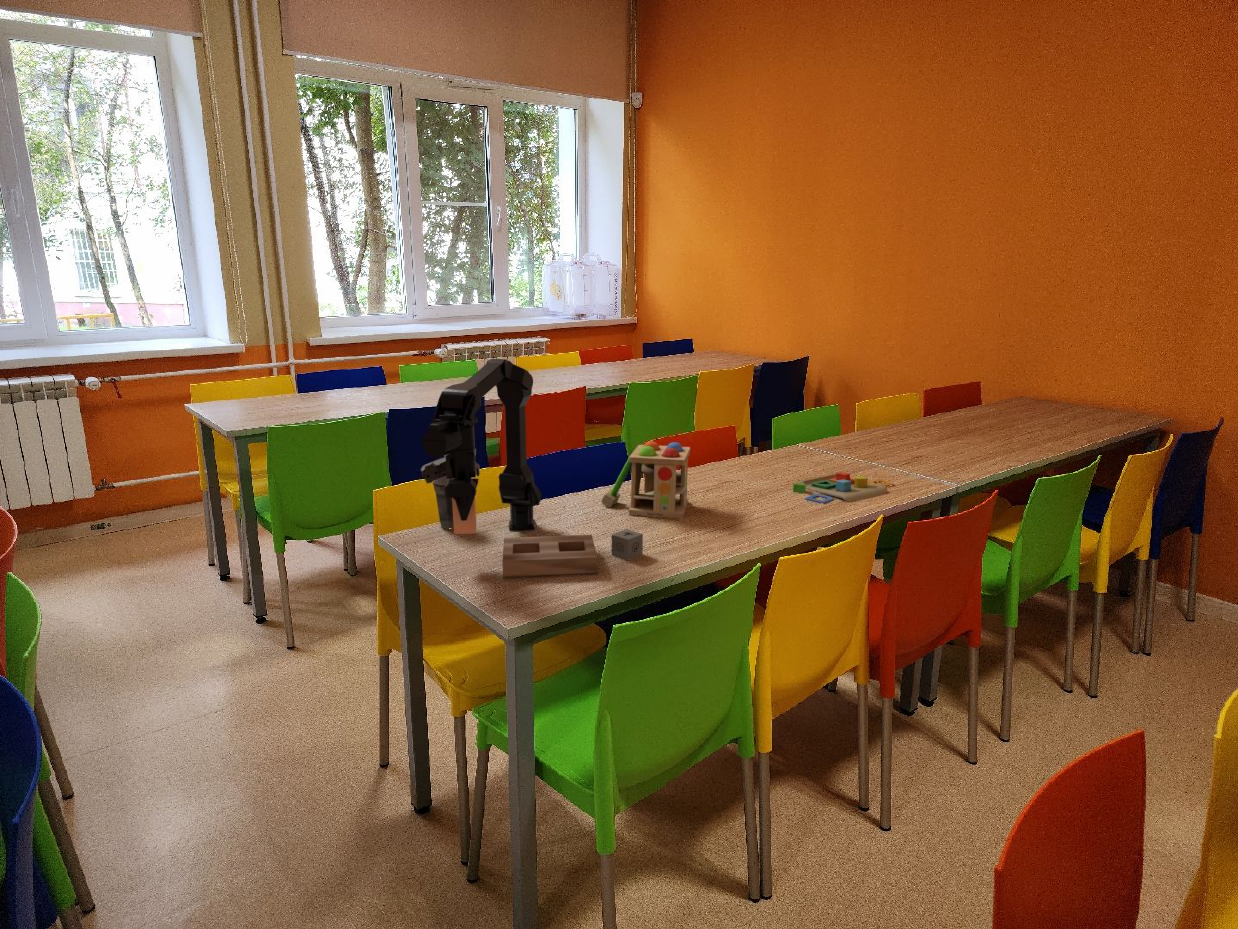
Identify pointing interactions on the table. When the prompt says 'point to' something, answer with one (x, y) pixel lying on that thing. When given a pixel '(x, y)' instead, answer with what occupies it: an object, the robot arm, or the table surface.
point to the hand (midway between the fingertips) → (464, 516)
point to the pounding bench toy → (655, 481)
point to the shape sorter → (841, 487)
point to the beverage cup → (443, 503)
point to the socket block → (549, 556)
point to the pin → (467, 525)
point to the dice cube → (627, 544)
